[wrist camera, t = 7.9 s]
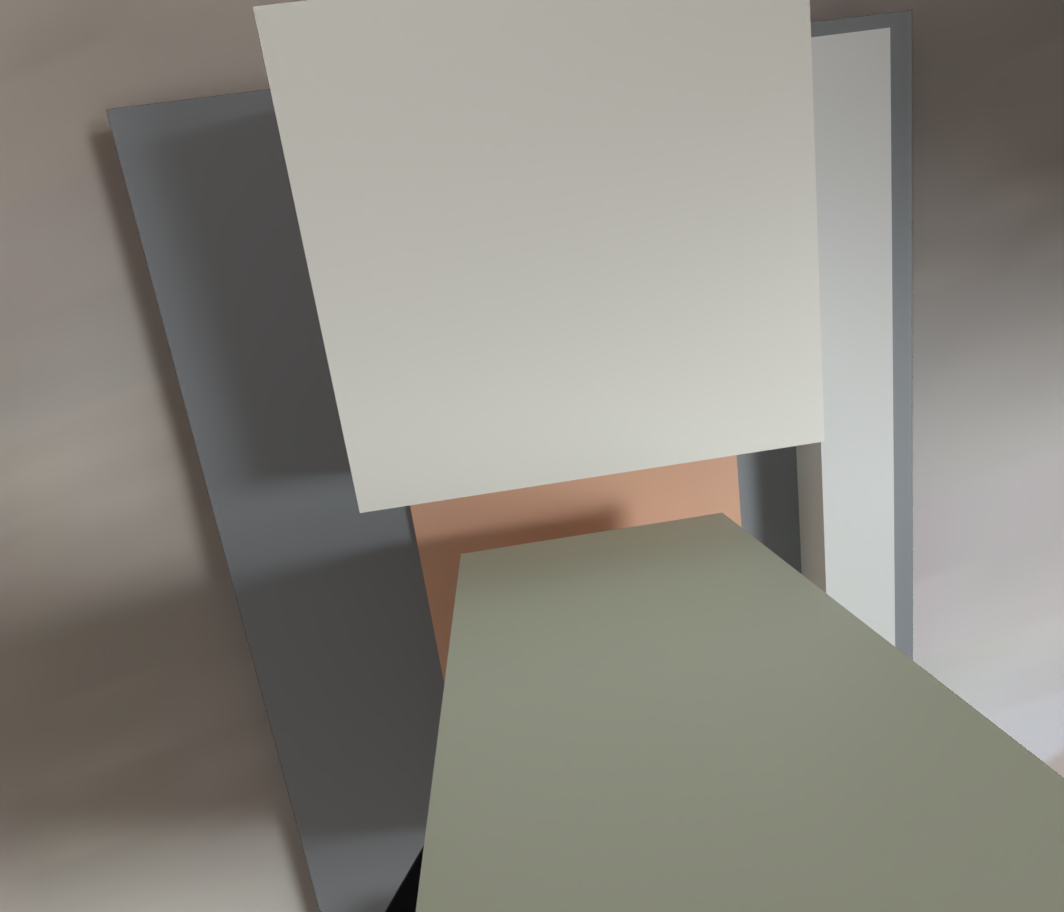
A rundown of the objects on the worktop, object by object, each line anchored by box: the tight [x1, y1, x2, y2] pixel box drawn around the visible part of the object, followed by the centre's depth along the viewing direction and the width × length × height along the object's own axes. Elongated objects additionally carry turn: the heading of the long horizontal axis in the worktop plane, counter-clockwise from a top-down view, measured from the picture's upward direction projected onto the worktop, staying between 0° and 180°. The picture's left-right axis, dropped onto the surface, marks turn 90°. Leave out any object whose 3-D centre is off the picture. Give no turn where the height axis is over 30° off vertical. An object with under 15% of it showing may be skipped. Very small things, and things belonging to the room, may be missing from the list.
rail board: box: [106, 0, 913, 912], centre depth 10 cm, size 12×20×3 cm, turn 8°
